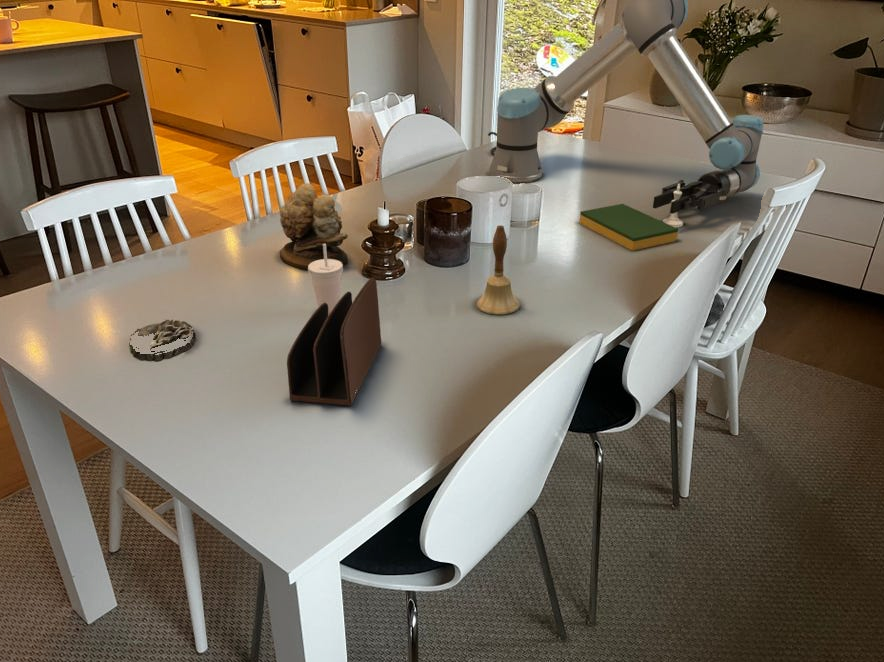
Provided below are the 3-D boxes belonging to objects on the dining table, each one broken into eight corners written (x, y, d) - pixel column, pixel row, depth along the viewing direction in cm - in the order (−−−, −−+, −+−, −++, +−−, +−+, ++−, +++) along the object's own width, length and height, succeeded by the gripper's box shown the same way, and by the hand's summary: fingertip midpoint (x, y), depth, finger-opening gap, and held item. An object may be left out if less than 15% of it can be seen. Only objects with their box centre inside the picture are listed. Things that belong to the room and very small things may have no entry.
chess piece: (681, 221, 185) (687, 181, 180) (684, 228, 181) (691, 187, 175) (660, 220, 185) (667, 180, 180) (663, 227, 181) (670, 186, 176)
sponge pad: (579, 223, 183) (580, 211, 182) (621, 215, 188) (622, 203, 187) (632, 250, 168) (633, 238, 167) (676, 241, 173) (678, 228, 172)
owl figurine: (364, 259, 164) (359, 182, 155) (328, 277, 155) (321, 198, 146) (303, 242, 172) (295, 169, 163) (266, 259, 164) (256, 182, 155)
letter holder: (382, 344, 131) (378, 270, 124) (351, 407, 114) (345, 325, 107) (327, 340, 132) (320, 266, 125) (289, 401, 115) (278, 320, 108)
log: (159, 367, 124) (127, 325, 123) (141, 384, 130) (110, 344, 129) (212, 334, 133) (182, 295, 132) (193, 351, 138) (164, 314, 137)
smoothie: (318, 323, 138) (311, 252, 131) (307, 309, 143) (300, 240, 135) (351, 315, 140) (346, 246, 133) (339, 302, 145) (334, 234, 138)
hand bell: (467, 306, 144) (469, 227, 136) (493, 292, 149) (496, 215, 141) (502, 319, 139) (506, 238, 131) (528, 304, 145) (532, 225, 136)
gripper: (690, 163, 194) (635, 181, 180) (751, 178, 183) (697, 198, 169) (685, 191, 198) (631, 211, 184) (745, 208, 186) (692, 230, 173)
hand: (663, 205), depth 177 cm, fingers open, 4 cm apart
